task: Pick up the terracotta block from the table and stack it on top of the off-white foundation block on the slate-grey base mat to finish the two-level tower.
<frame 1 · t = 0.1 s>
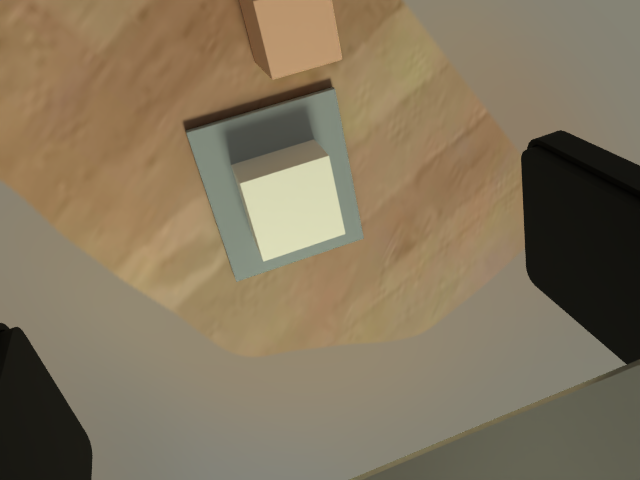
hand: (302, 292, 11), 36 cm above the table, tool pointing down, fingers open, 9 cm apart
terracotta block: (278, 19, 44), on the table
foundation: (281, 187, 50), on the table
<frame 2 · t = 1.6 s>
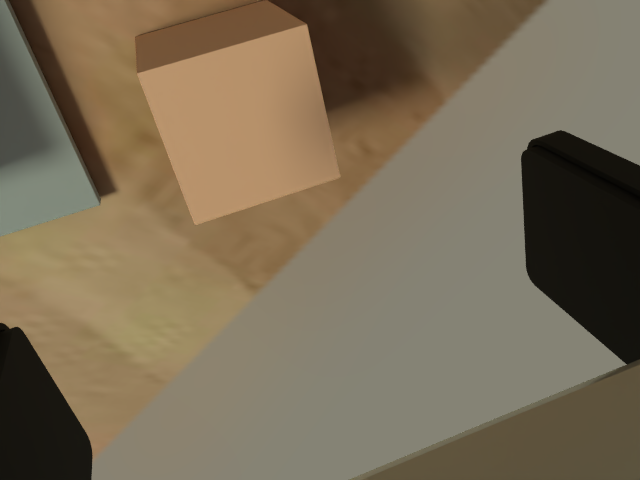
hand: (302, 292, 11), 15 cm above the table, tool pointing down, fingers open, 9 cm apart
terracotta block: (221, 83, 23), on the table
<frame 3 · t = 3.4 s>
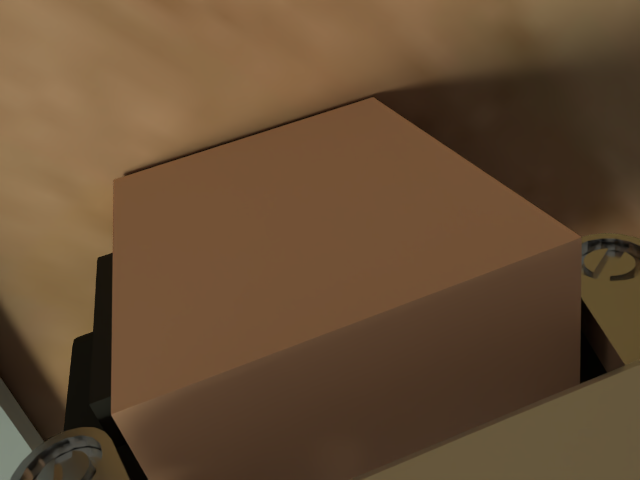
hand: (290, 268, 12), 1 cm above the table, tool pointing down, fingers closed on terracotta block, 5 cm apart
terracotta block: (281, 249, 12), on the table, touching gripper
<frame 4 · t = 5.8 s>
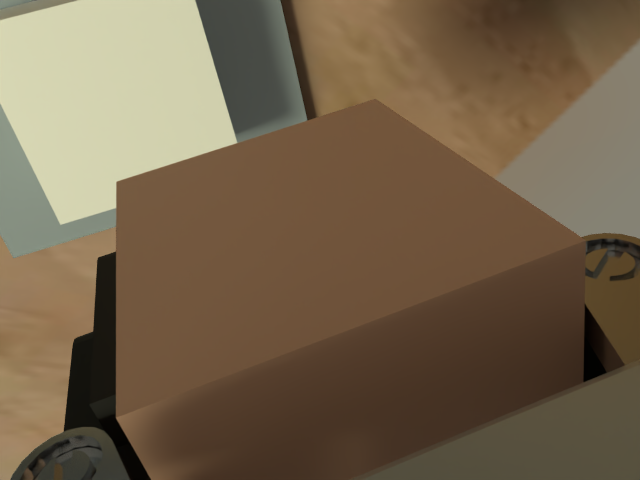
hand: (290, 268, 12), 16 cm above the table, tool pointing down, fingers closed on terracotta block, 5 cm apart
terracotta block: (283, 250, 12), point 15 cm above the table, touching gripper
foundation: (121, 76, 24), on the table
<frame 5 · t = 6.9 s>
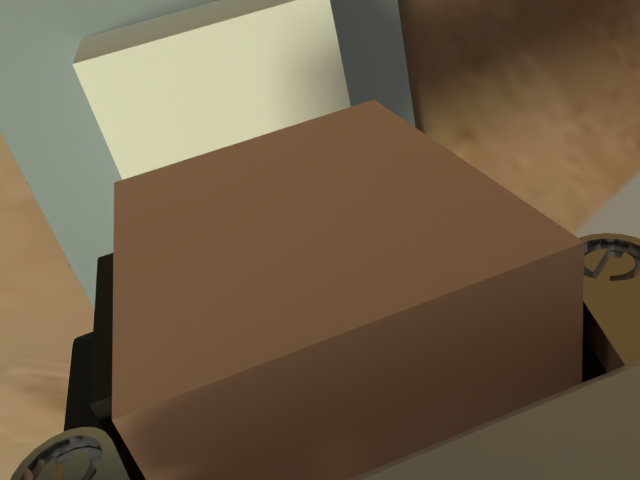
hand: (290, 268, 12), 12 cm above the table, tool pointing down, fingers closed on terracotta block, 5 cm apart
terracotta block: (281, 251, 12), point 11 cm above the table, touching gripper
foundation: (219, 106, 21), on the table
when the fingers open (7 cm above the table, at t = 8.1 s): terracotta block drops 1 cm, resting on foundation.
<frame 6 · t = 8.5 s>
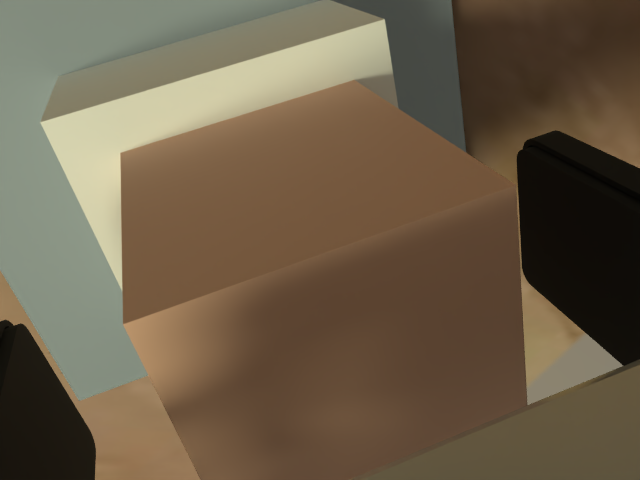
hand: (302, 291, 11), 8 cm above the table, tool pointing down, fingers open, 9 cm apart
terracotta block: (271, 219, 13), point 5 cm above the table, touching foundation
foundation: (232, 154, 17), on the table
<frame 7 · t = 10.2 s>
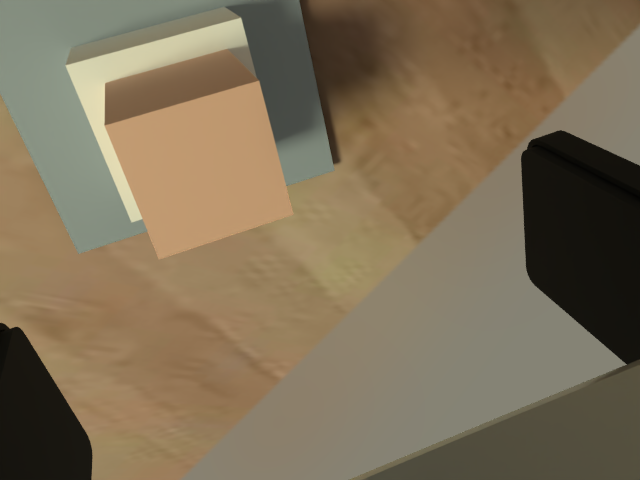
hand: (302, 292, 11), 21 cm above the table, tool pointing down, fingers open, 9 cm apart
terracotta block: (186, 124, 25), point 5 cm above the table, touching foundation
foundation: (173, 98, 29), on the table
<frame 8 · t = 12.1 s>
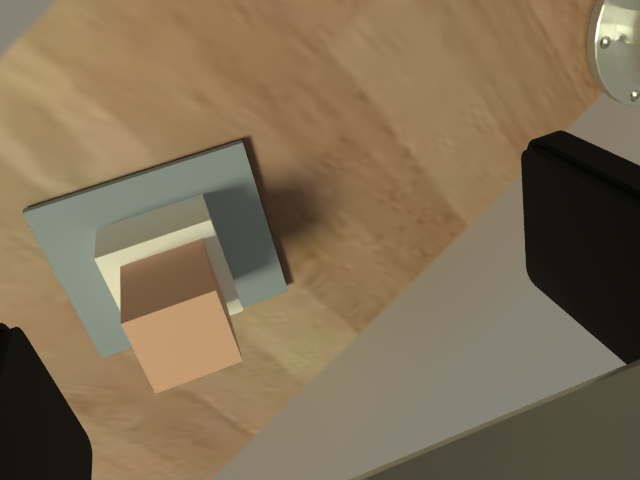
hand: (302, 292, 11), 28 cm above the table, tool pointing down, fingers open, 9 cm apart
terracotta block: (175, 285, 37), point 5 cm above the table, touching foundation
foundation: (168, 251, 41), on the table
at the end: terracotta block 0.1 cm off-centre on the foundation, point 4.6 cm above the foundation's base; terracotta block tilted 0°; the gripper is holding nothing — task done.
